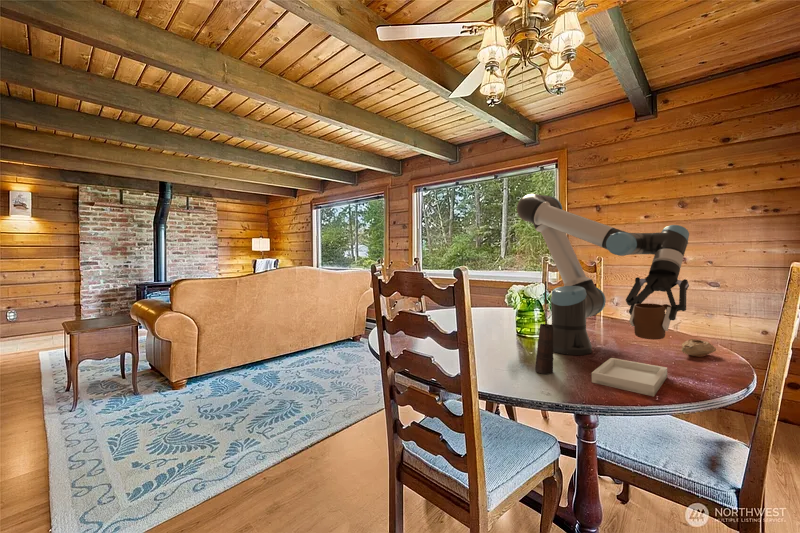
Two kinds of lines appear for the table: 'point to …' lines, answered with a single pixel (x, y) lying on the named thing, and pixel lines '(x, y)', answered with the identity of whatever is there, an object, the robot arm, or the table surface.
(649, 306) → the mug
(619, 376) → the tray
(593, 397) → the table surface
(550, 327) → the butter churn
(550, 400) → the table surface
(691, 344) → the pottery oil lamp
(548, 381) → the table surface
